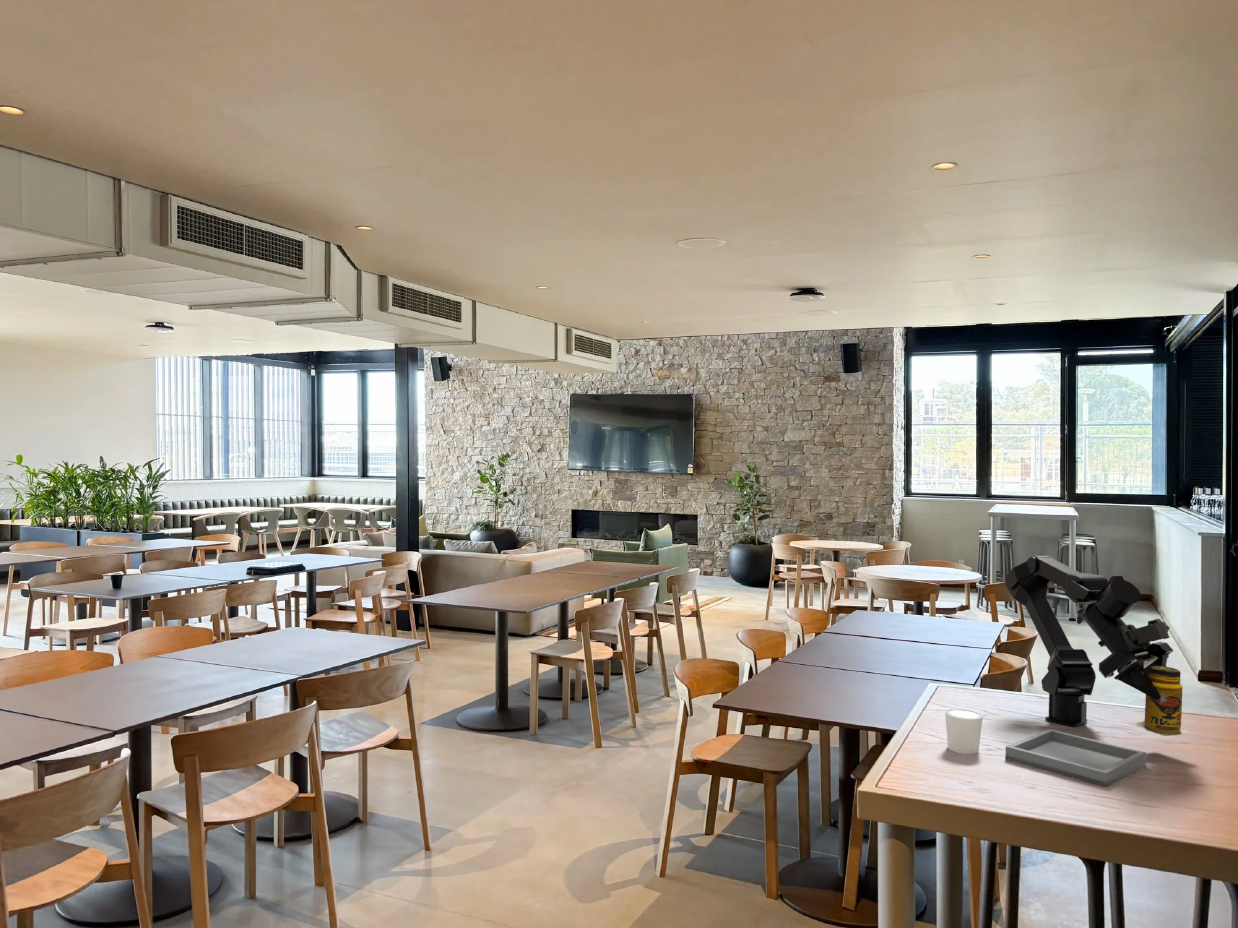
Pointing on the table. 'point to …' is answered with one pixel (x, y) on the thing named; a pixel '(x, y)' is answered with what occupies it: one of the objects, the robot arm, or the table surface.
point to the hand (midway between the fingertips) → (1167, 696)
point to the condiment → (1164, 703)
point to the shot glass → (963, 730)
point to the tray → (1076, 757)
